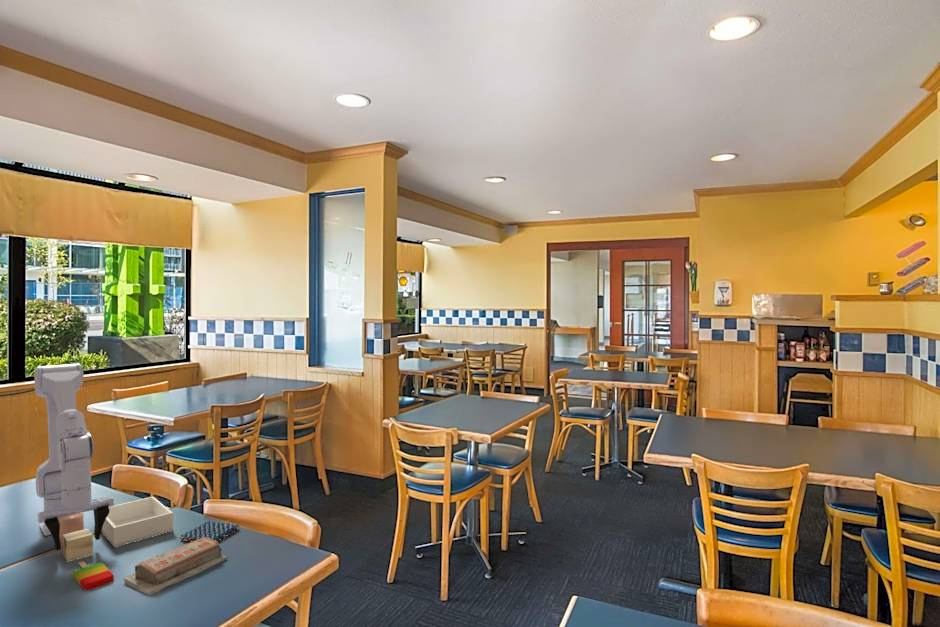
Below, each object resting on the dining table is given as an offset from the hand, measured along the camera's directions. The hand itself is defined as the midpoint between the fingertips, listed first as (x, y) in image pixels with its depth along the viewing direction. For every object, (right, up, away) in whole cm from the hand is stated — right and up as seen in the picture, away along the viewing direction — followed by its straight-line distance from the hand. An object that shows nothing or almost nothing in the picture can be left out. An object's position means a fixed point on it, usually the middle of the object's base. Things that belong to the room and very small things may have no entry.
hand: (77, 543), depth 129 cm
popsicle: (+10, -4, -9) cm, 14 cm away
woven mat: (+26, -3, +10) cm, 29 cm away
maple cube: (0, -3, 0) cm, 3 cm away
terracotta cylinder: (-6, -3, +6) cm, 9 cm away
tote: (+5, -2, +14) cm, 15 cm away
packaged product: (+28, -3, -8) cm, 29 cm away
